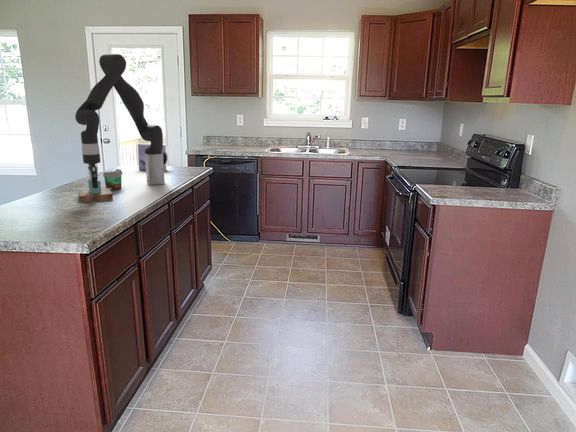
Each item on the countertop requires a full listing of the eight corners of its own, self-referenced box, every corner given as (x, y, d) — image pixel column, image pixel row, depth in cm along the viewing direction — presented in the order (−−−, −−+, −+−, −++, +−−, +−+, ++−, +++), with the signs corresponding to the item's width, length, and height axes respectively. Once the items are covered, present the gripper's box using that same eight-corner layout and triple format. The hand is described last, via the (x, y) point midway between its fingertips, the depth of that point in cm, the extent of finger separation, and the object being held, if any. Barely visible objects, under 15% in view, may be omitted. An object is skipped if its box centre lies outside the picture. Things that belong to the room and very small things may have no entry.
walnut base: (109, 194, 214) (108, 188, 213) (113, 199, 202) (112, 193, 201) (78, 196, 207) (78, 190, 206) (80, 202, 195) (80, 196, 194)
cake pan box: (168, 169, 290) (166, 144, 285) (165, 171, 285) (164, 144, 280) (141, 169, 292) (139, 143, 287) (138, 170, 287) (136, 144, 282)
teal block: (100, 190, 207) (99, 178, 205) (101, 192, 203) (100, 180, 201) (89, 191, 205) (87, 179, 203) (90, 193, 200) (88, 181, 199)
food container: (115, 192, 219) (113, 173, 216) (104, 191, 220) (102, 172, 217) (128, 187, 231) (126, 169, 228) (118, 186, 232) (116, 168, 229)
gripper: (101, 154, 194) (104, 188, 199) (98, 151, 206) (101, 183, 211) (83, 155, 191) (87, 190, 195) (81, 151, 203) (84, 184, 207)
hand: (94, 186), depth 203 cm, fingers open, 8 cm apart
